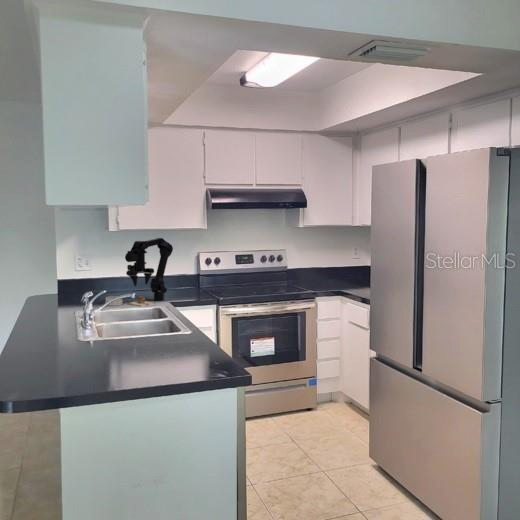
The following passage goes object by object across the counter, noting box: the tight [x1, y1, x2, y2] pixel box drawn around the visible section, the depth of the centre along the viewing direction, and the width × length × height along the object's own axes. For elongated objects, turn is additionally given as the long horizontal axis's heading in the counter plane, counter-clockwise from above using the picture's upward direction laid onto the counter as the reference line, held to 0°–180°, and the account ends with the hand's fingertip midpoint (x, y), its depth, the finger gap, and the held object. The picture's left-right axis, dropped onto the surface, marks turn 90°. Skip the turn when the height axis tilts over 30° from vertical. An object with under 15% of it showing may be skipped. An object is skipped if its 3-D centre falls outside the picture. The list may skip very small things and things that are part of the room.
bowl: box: [105, 295, 123, 306], centre depth 328 cm, size 10×10×5 cm
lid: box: [125, 295, 157, 307], centre depth 329 cm, size 13×13×5 cm
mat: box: [122, 302, 158, 308], centre depth 329 cm, size 17×17×1 cm
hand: (140, 285), depth 328 cm, fingers open, 9 cm apart
